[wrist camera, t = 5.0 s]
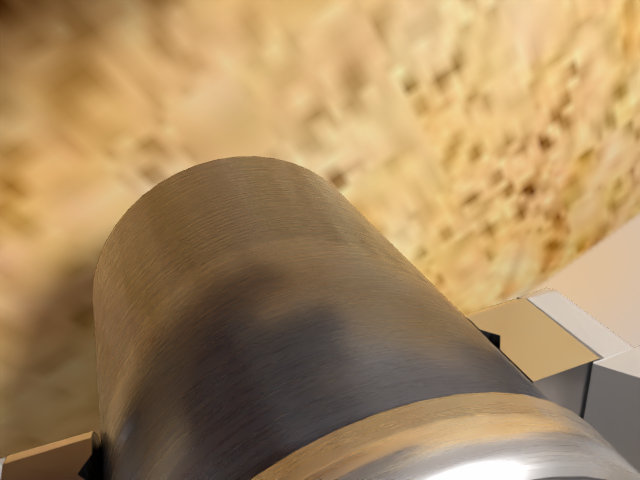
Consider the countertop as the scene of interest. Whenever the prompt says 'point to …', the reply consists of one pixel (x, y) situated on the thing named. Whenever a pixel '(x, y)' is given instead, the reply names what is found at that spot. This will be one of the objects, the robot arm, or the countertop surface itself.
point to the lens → (303, 349)
